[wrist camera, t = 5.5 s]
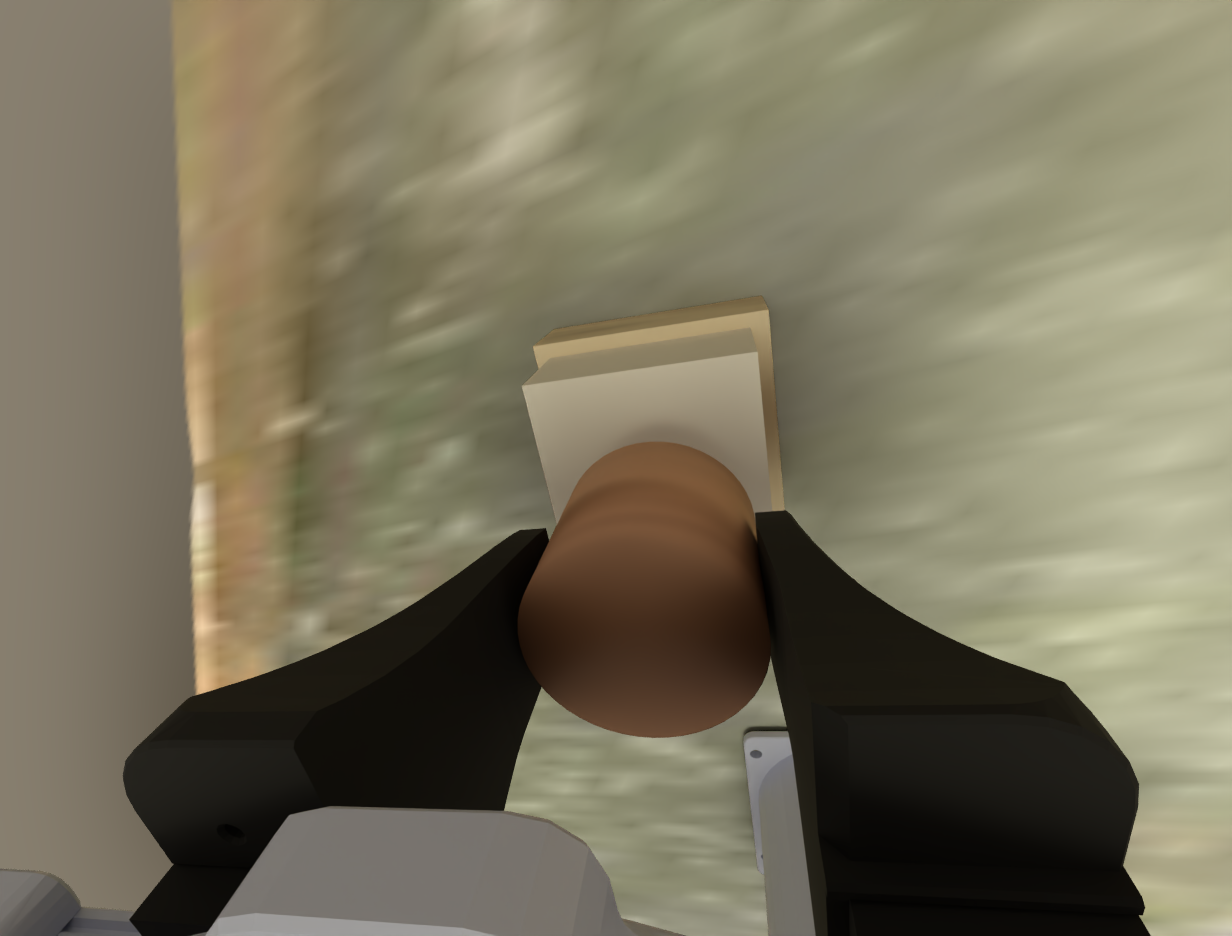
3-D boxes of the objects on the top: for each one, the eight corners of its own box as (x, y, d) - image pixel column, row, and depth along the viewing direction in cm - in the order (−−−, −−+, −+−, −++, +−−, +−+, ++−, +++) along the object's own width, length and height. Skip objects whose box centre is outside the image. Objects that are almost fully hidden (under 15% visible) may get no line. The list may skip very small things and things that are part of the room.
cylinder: (758, 604, 14) (773, 741, 11) (581, 606, 15) (541, 733, 12) (752, 435, 13) (768, 530, 9) (553, 447, 13) (495, 539, 10)
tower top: (768, 511, 19) (777, 563, 16) (589, 528, 20) (570, 578, 18) (750, 327, 17) (757, 351, 14) (550, 358, 18) (521, 386, 15)
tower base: (777, 486, 22) (785, 526, 19) (595, 503, 23) (579, 543, 21) (760, 294, 19) (768, 309, 17) (556, 327, 21) (532, 346, 18)
